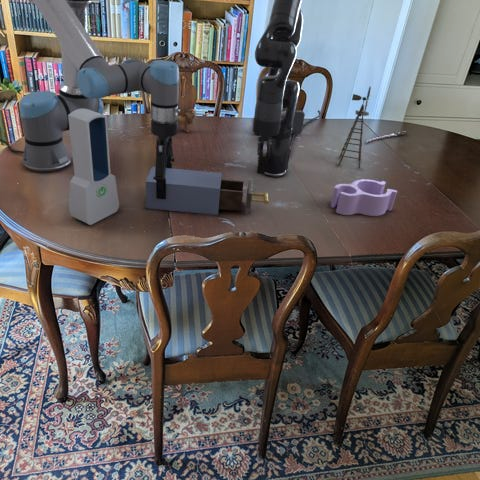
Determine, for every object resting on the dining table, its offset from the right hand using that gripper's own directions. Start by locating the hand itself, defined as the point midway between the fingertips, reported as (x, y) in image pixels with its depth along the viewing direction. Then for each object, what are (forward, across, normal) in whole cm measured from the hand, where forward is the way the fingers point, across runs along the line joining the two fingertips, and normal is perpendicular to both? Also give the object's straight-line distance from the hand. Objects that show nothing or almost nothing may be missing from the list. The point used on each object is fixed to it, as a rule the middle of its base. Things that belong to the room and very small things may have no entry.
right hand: (260, 173), depth 139 cm
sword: (+13, +79, -61) cm, 101 cm away
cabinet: (+13, 0, +22) cm, 26 cm away
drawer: (+12, 0, +10) cm, 15 cm away
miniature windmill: (+13, +45, -37) cm, 60 cm away
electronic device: (+13, -12, +47) cm, 50 cm away
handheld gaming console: (+13, +71, -10) cm, 73 cm away
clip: (+13, +8, -35) cm, 38 cm away
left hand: (+9, 0, +29) cm, 30 cm away
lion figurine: (+13, +63, +32) cm, 72 cm away
